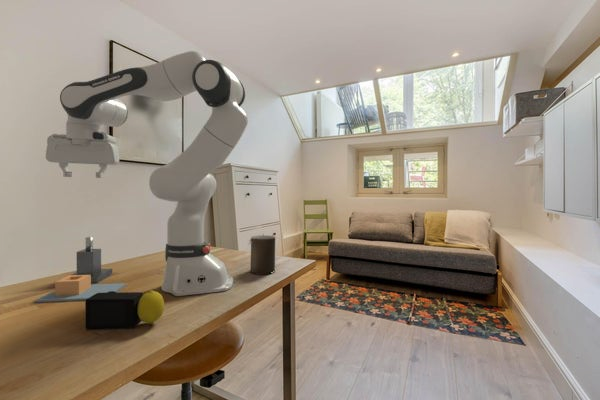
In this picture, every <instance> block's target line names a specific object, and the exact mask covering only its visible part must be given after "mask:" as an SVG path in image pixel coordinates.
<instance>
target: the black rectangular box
mask: <svg viewBox="0 0 600 400" xmlns="http://www.w3.org/2000/svg"><path fill="white" fill-rule="evenodd" d="M143 295H144V294H143V291H138V292H136V291H135V292H134V291H132V292H131V291H130V292H127V291H126V292H122V291H121V292H114V291H110V292H107V293H96V294H95V295H93V296H91V297H90V298H88V299H86V300H85V302H84V303H85V304H84V305H85V308H84V309H85V313H84V314H85V330H86V331H88V330H89V331H90V330H91V331H92V330H94V331H95V330H129V329H135V328H137V326H138V325H139V324H140V323H141V322H143V321H142V320H141V319H140V318H139V316H138V311H137V308H138V303H139V300H140V298H141V297H142V296H143Z"/></svg>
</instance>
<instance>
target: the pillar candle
mask: <svg viewBox="0 0 600 400" xmlns="http://www.w3.org/2000/svg"><path fill="white" fill-rule="evenodd" d="M275 270H276V236H274V235H265V234H264V233H262V235H261V234H260V235H254V236H253V235H252V236H251V237H250V273H252V274H255V273H256V275H266V274H265V273H271V272H273V271H274V272H276V271H275ZM274 272H273V273H274ZM271 274H272V273H271Z"/></svg>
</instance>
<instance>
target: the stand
mask: <svg viewBox="0 0 600 400" xmlns="http://www.w3.org/2000/svg"><path fill="white" fill-rule="evenodd" d="M70 275H91V284H100V282H101V281H103V280H105V279H107V278H108V277H110V276H112V275H113V268H102V248H94V236H87V237H85V248H84V249H81V250H79V251H76V272H74V273H72V274H70Z"/></svg>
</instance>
